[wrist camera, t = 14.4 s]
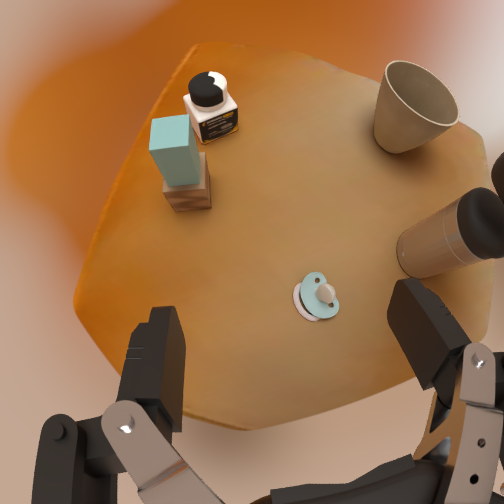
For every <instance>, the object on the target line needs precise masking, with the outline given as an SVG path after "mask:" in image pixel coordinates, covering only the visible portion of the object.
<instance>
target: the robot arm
mask: <svg viewBox="0 0 504 504" xmlns="http://www.w3.org/2000/svg"><path fill="white" fill-rule="evenodd" d="M491 178H492V182H493V185H494V187H495V189H496V191H497V194H498V196H497V195H496V194H495V193H494V192H492V191H491V190H489V189H486V188H482V187H479V188H475V189H473V190H471V191H469V192H468V193H466V194H464V195H463V196H462V197H460V198H458V199H457V200H455V201H454V202H452V203H451V204H449V205H448V206H446V207H444V208H443V209H441V210H439V211H438V212H436V213H435V214H433V215H431V216H430V217H428V218H426V219H425V220H423V221H421V222H420V223H418V224H416V225H415V226H413V227H411V228H410V229H408V230H406V231H405V232H404V233H403V234H402V235H401V236H400V238H399V240H398V244H397V256H398V260H399V263H400V265H401V267H402V268H403V270H404V271H405V272H406V273H407V274H408V275H410V276H411V277H413V278H407V279H401V280H398V281H397V282H396V284H395V287H394V290H393V294H392V297H391V300H390V304H389V307H388V310H387V319H388V323H389V326H390V328H391V329H392V331H393V333H394V335H395V337H396V338H397V340H398V342H399V344H400V346H401V348H402V350H403V351H404V353H405V355H406V357H407V359H408V361H409V363H410V365H411V367H412V369H413V371H414V373H415V375H416V377H417V379H418V380H419V383H420V385H421V387H422V389H423V390H427V389H429V388H432V387H434V388H435V390H436V392H435V393H434V395H433V399H432V404H431V408H430V412H429V417H428V421H427V425H426V429H425V432H424V436H423V438H422V440H421V442H420V444H419V445H418V447H417V449H416V451H415V453H414V455H413V457H412V455H411V454H409V455H406V456H404V457H401V458H398V459H396V460H393V461H390V462H387V463H384V464H382V465H380V466H378V467H376V468H375V469H373V470H371V471H370V472H368V473H366V474H365V475H363V476H361V477H359V478H358V479H356V480H354V481H352V482H350V483H346V484H304V485H299V486H293V487H286V488H279V489H272V490H270V491H271V492H270V495H268V496H265V497H262V498H260V499H258V500H256V501H254V502H252V503H250V504H504V497H503V496H501V495H499V494H497V493H495V492H493V491H492V490H493V486H494V481H495V476H496V471H497V466H498V459H499V458H500V461H501V464H502V467H503V470H504V352H492V351H491V350H490V349H489V348H488V347H487V346H485V345H483V344H481V343H472V342H471V341H470V339H469V338H468V336H467V335H466V333H465V332H464V330H463V329H462V328H461V326H460V325H459V323H458V322H457V321H456V319H455V318H454V316H453V315H451V312H450V311H449V310H448V308H447V307H445V304H444V303H443V302H442V300H441V299H440V298H439V296H438V295H436V294H435V293H434V292H432V291H431V290H429V289H428V288H427V289H426V288H425V287H424V286H423V284H422V283H421V282H420V280H419V279H422V278H426V277H430V276H434V275H437V274H441V273H444V272H448V271H451V270H455V269H458V268H461V267H465V266H468V265H471V264H474V263H477V262H481V261H484V260H487V259H490V258H496V259H497V258H503V257H504V152H503V153H502V154H501V155H500V157H499V158H498V159H497V160H496V162H495V164H494V166H493V168H492V172H491ZM128 348H129V349H128V350H127V354H126V360H125V363H124V367H123V372H122V376H121V381H120V386H119V391H118V396H117V399H116V402H115V403H113V404H112V405H110V406H109V407H108V408H107V409H106V410H105V412H104V414H103V415H101V416H99V417H95V418H91V419H86V420H81V421H77V422H75V421H74V420H73V419H72V418H71V417H69V416H68V415H65V414H57V415H53V416H51V417H50V418H49V419H47V421H46V422H45V423H44V425H43V427H42V430H41V435H40V441H39V446H38V452H37V459H36V465H35V472H34V481H33V490H32V502H31V504H117V476H118V473H123V472H128V473H129V475H130V476H131V478H132V479H133V481H134V482H135V484H136V485H137V487H138V495H139V497H140V499H141V500H142V502H143V503H144V504H225V503H224V502H223V501H222V500H221V499H220V498H219V497H218V496H217V495H216V494H215V493H214V492H213V491H212V490H211V489H210V488H209V487H208V486H207V485H206V484H205V483H204V482H203V481H202V479H201V478H200V477H199V476H198V475H197V474H196V473H195V472H194V471H193V470H192V468H191V467H190V466H189V465H188V464H187V463H186V462H185V460H184V459H183V458H182V457H181V456H180V454H179V453H178V452H177V451H176V450H175V448H174V447H173V446H172V432H182V407H183V387H184V370H185V355H186V345H185V338H184V334H183V331H182V328H181V325H180V321H179V318H178V315H177V311H176V308H175V307H174V306H163V307H153V308H152V309H151V313H150V318H149V322H148V323H139V325H138V326H137V327H136V329H135V330H134V331H133V333H132V334H131V337H130V342H129V346H128ZM500 492H501V494H503V495H504V483H503V484H502V486H501V488H500Z"/></svg>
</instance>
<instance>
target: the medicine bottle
mask: <svg viewBox="0 0 504 504" xmlns="http://www.w3.org/2000/svg"><path fill="white" fill-rule="evenodd" d="M188 88H189V93H190V94H188V95H185V96H184V97H183V99H184V103H185V107H186V111H187V114H189V115H190V119H191V123H192V127H193V128H194V130H195V132H196V134H197V135H198V137H199V139H200V141H201V142H202V144H206V143H209V142H211V141H213V140H215V139H218V138H220V137H222V136H225V135H227V134H230V133H232V132H234V131H237V130H238V107H237V105H236V103H235V102H234V101H233V99H232V98H231V96H230V95H229V94H228V92H227V81H226V79H225V77H224V76H223V75H221V74H219V73H216V72H203V73H200V74H198V75H196V76H195V77H193V78H192V79H191V81H190V82H189V85H188Z"/></svg>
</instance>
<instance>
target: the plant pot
mask: <svg viewBox="0 0 504 504" xmlns="http://www.w3.org/2000/svg"><path fill="white" fill-rule="evenodd" d="M459 115H460V114H459V107H458V104H457V102H456V99H455V98H454V96H453V94H452V93H451V91H450V90H449V89H448V88H447V86H446V85H445V84H444V83H443V82H442V81H441V80H440V79H439V78H437V77H436V76H435V75H433V74H432V73H431V72H429V71H428V70H426V69H425V68H423V67H421V66H419V65H417V64H414V63H411V62H407V61H393V62H391V63H389V64H388V65H387V67H386V69H385V72H384V76H383V79H382V82H381V86H380V90H379V94H378V98H377V104H376V110H375V119H374V137H375V139H376V141H377V143H378V144H379V145H380V146H381V147H382V148H383V149H385V150H386V151H388V152H390V153H395V154H398V153H402V152H405V151H408V150H411V149H413V148H416V147H418V146H420V145H422V144H424V143H426V142H428V141H430V140H432V139H434V138H435V137H437V136H439V135H440V134H442V133H443V132H445V131H446V130H447V129H449V128H450V127H452V126H453V125H454V124H456V123H457V122H458V120H459Z"/></svg>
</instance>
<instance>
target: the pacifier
mask: <svg viewBox="0 0 504 504" xmlns="http://www.w3.org/2000/svg"><path fill="white" fill-rule="evenodd" d="M316 278H319V280H320V281H319V283H315V279H316ZM299 292H300V293H301V298H302V301H303V303H304V305H305V307H306V308H307V309H308V311H309V312H310V313H312V314H313V315H310V314H309V313H307V312H306V311H305V310H304V309H303V307H302V306H301V303H300V300H299ZM335 296H336V293H335V290H334V288H333V287H332V286H331V285H329V284H327V282H326V279H325V277H324V276H323V275H322V274H321V273H319V272H312V273H310V274H308V275H307V276H306V277H305V278H304V280H303V281H302V283H299V284H297V285H296V287H295V288H294V292H293V299H294V303H295V306H296V308H297V310H298V311H299V313H300V314H301V315H302V316H303V317H304V318H306V319H307V320H310V321H317V320H319V319H321V318H330V317H333V316H334V315H335V314H336V313H337V312H338V310H339V302H338V300H337V299H336V297H335ZM329 303H333V307H332V308H330V307H329V306H328V304H329Z"/></svg>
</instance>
